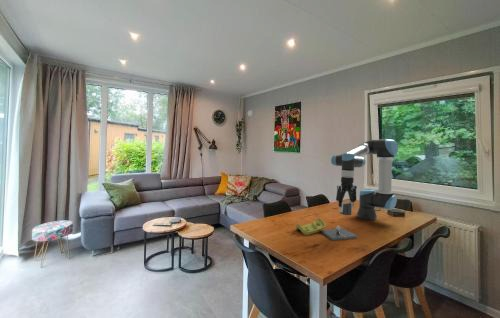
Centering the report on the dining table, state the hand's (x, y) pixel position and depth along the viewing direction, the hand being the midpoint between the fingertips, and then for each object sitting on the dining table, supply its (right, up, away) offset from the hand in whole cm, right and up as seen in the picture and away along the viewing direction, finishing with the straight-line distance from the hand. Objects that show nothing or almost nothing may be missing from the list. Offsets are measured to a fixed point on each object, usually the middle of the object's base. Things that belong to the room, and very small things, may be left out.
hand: (345, 211), depth 149 cm
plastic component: (-21, -16, +7) cm, 27 cm away
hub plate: (-5, -16, +1) cm, 16 cm away
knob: (0, -1, 0) cm, 1 cm away
